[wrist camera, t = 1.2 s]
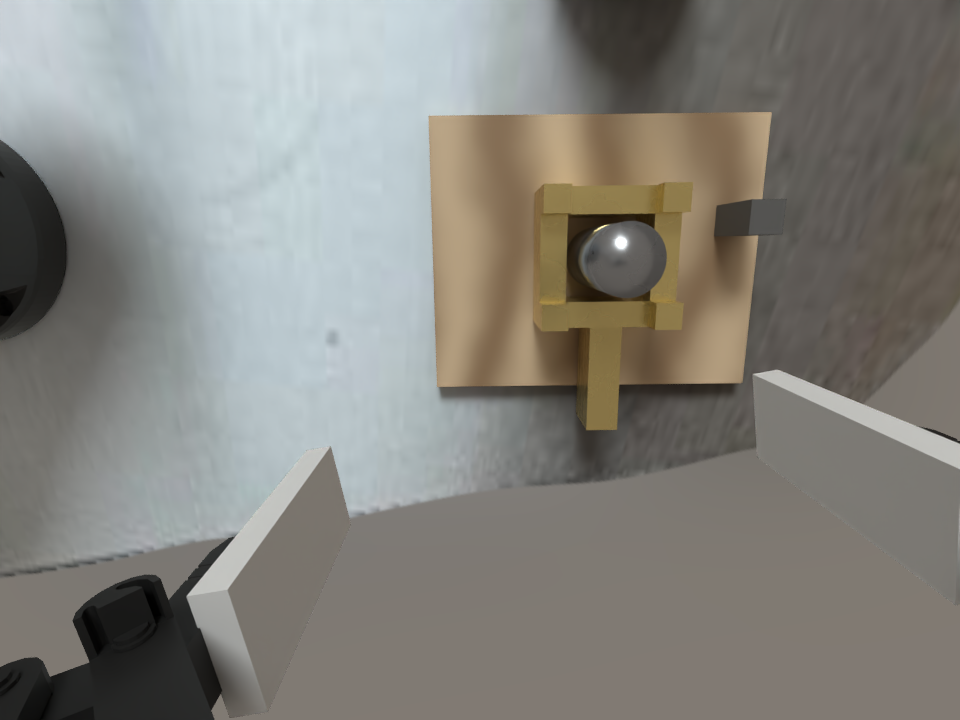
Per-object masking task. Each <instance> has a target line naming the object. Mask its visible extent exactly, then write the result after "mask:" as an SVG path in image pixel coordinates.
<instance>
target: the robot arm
mask: <svg viewBox="0 0 960 720" xmlns="http://www.w3.org/2000/svg"><path fill="white" fill-rule="evenodd" d="M65 265H66V245H65V237H64V231H63V227H62V223H61V220H60V217H59V214H58V211H57V208H56V206H55V204H54V202H53V200H52V198H51V196H50V194H49V192H48V190H47V189H46V187H45V185H44V184H43V182H42V181H41V180H40V178H39V177H38V175H37V174H36V173H35V172H34V170H33V169H32V168H31V167H30V166H29V165H28V163H27V162H26V161H25V160H24V159H23V158H22V157H21V156H20V155H19V154H18V153H16V152H15V151H14V150H13V149H12V148H11V147H9V146H8V145H7V144H5V143H4V142H3V141H1V140H0V340H3V339H7V338H10V337H13V336H15V335H17V334H19V333H22V332H23V331H25V330H27V329H28V328H30V327H31V326H33V325H34V324H35V323H36V322H38V321H39V320H40V319H41V318H42V317H43V316H44V315H45V314H46V312H47V311H48V310H49V309H50V307H51V306H52V304H53V303H54V301H55V299H56V297H57V295H58V293H59V290H60V288H61V285H62V281H63V277H64V272H65ZM753 389H754V408H755V426H756V444H757V457H758V458H759V459H760V460H761V461H763V462H764V463H765V464H767V465H768V466H769V467H771V468H772V469H774V470H775V471H776V472H777V473H779V474H780V475H782V476H783V477H784V478H786V479H787V480H788V481H790V482H791V483H792V484H794V485H795V486H796V487H798V488H799V489H800V490H802V491H803V492H804V493H806V494H807V495H808V496H810V497H811V498H812V499H814V500H815V501H816V502H818V503H819V504H820V505H822V506H823V507H824V508H826V509H827V510H829V511H830V512H831V513H832V514H834V515H835V516H836V517H838V518H839V519H841V520H842V521H843V522H845V523H846V524H847V525H849V526H850V527H851V528H853V529H854V530H855V531H857V532H858V533H859V534H861V535H862V536H863V537H865V538H866V539H867V540H869V541H870V542H871V543H873V544H874V545H876V546H877V547H878V548H880V549H881V550H882V551H883V552H885V553H886V554H888V555H889V556H890V557H891V558H893V559H894V560H895V561H897V562H898V563H899V564H901V565H902V566H904V567H905V568H906V569H908V570H909V571H910V572H912V573H913V574H914V575H916V576H917V577H918V578H920V579H921V580H922V581H924V582H925V583H926V584H928V585H929V586H930V587H932V588H933V589H934V590H936V591H937V592H938V593H940V594H941V595H943V596H944V597H945V598H946V599H948V600H949V601H950V602H952V603H953V604H954V605H958V604H960V441H957V439H956V438H953V437H951V436H948V435H946V434H943V433H941V432H938V431H936V430H932V429H928V428H923V427H919V426H915V425H912V424H910V423H907V422H905V421H902V420H900V419H897V418H895V417H893V416H890V415H887V414H885V413H883V412H880V411H877V410H875V409H872V408H870V407H868V406H866V405H863V404H861V403H858V402H856V401H853V400H851V399H848V398H846V397H843V396H841V395H838V394H836V393H834V392H831V391H829V390H826V389H824V388H821V387H819V386H816V385H814V384H811V383H809V382H806V381H804V380H802V379H799V378H797V377H794V376H792V375H789V374H787V373H784V372H782V371H779V370H774V371H768V372H763V373H757V374H753ZM350 526H351V522H350V518H349V515H348V511H347V507H346V503H345V499H344V495H343V492H342V488H341V484H340V480H339V476H338V472H337V468H336V465H335V461H334V457H333V453H332V449H331V446H329V447H323V448H317V449H311V450H307V451H306V452H305V453H304V454H303V455H302V457H301V458H300V459H299V460H298V461H297V463H296V464H295V465H294V466H293V468H292V469H291V470H290V471H289V472H288V474H287V475H286V476H285V477H284V478H283V480H282V481H281V482H280V483H279V485H278V486H277V487H276V488H275V489H274V491H273V492H272V493H271V494H270V495H269V497H268V498H267V499H266V500H265V502H264V503H263V504H262V505H261V506H260V508H259V509H258V510H257V511H256V512H255V514H254V515H253V516H252V517H251V519H250V520H249V521H248V522H247V523H246V525H245V526H244V527H243V528H242V529H241V531H240V532H239V533H238V534H237V536H236V537H231V538H228V539H227V540H226V541H224V542H223V543H222V544H220V545H219V546H218V547H216V548H215V549H213V550H212V551H211V552H210V553H209V554H208V555H207V557H206V558H205V559H204V560H203V561H202V562H201V563H200V564H199V566H198V567H199V568H197V569H195V570H194V571H193V573H192V574H191V575H190V576H189V577H188V580H187V581H185V582H184V583H183V584H182V585H181V586H180V588H179V589H178V590H177V591H176V592H175V593H174V595H173V596H172V597H171V598H170V599H169V600H168V598H167V595H166V592H165V590H164V587H163V584H162V582H161V579H160V578H159V577H157V576H156V575H142V576H137V577H133V578H130V579H127V580H125V581H122V582H119V583H117V584H115V585H113V586H111V587H109V588H107V589H105V590H104V591H101V592H100V593H98V594H97V595H95V596H94V597H93V598H91V599H90V600H88V601H87V602H86V603H85V604H84V605H83V606H82V607H81V608H80V609H79V610H78V611H77V612H76V613H75V616H74V619H73V623H74V626H75V628H76V630H77V632H78V635H79V637H80V640H81V642H82V645H83V647H84V649H85V652H86V654H87V657H88V659H89V663H87V664H84V665H81V666H79V667H76V668H73V669H70V670H68V671H65V672H62V673H59V674H57V675H54V676H51V677H50V676H49V674H48V672H47V669H46V667H45V665H44V663H43V661H41V660H40V659H39V658H37V657H35V658H24V659H21V660H17V661H14V662H11V663H8V664H6V665H4V666H2V667H0V720H214V717H213V714H212V712H211V710H212V708H213V706H214V704H215V703H216V701H217V699H218V697H219V696H220V694H221V695H222V698H223V701H224V704H225V706H226V709H227V712H228V715H229V717H230V718H233V717H240V716H245V715H252V714H259V713H265V712H268V711H269V709H270V707H271V704H272V702H273V700H274V698H275V695H276V693H277V691H278V689H279V686H280V684H281V682H282V680H283V677H284V675H285V673H286V670H287V668H288V666H289V664H290V661H291V659H292V657H293V655H294V652H295V650H296V648H297V646H298V643H299V641H300V639H301V636H302V634H303V632H304V630H305V628H306V625H307V623H308V621H309V619H310V616H311V614H312V612H313V610H314V607H315V605H316V603H317V600H318V598H319V596H320V594H321V592H322V589H323V587H324V585H325V583H326V580H327V578H328V576H329V573H330V571H331V569H332V567H333V564H334V562H335V560H336V558H337V556H338V553H339V551H340V548H341V546H342V544H343V542H344V540H345V537H346V535H347V533H348V531H349V528H350Z"/></svg>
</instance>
